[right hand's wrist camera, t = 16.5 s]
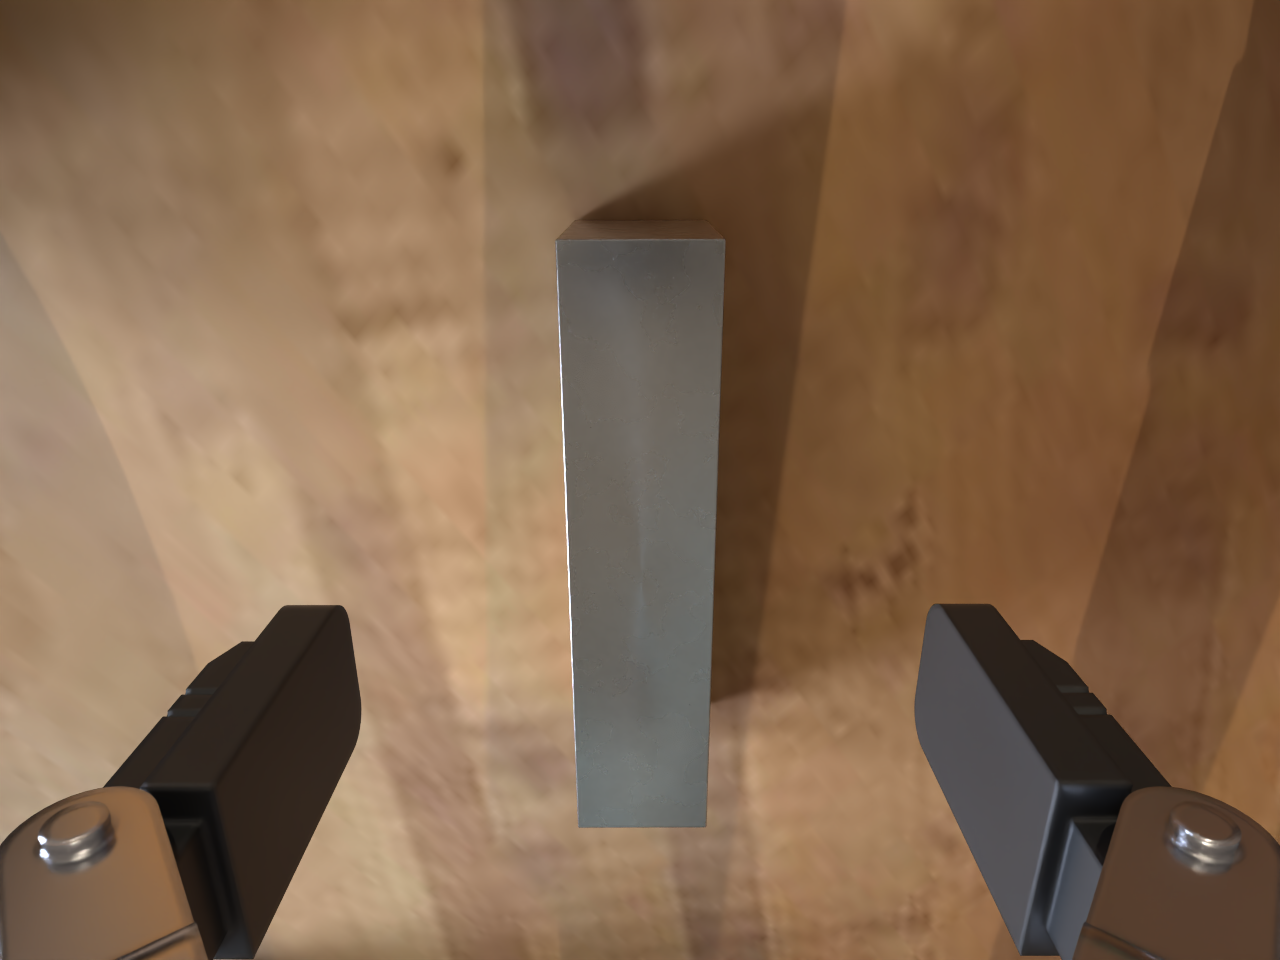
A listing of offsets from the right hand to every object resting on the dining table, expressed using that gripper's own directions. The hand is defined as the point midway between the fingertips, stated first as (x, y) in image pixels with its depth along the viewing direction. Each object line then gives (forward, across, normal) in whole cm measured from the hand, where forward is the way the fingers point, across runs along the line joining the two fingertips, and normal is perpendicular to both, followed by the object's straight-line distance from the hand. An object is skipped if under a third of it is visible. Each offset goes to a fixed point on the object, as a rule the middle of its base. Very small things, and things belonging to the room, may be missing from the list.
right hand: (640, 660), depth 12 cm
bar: (+27, 0, -9) cm, 29 cm away
